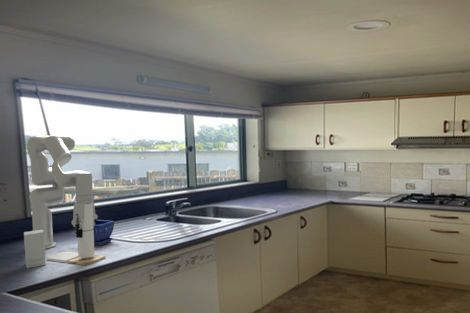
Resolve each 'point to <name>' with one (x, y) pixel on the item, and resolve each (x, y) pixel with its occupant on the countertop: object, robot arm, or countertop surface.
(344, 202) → the countertop surface
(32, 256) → the skincare box
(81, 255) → the cylindrical container
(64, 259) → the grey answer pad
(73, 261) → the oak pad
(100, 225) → the flower pot
